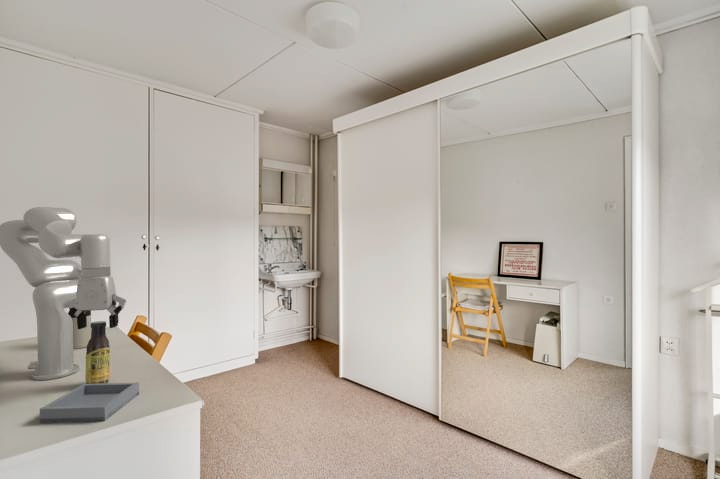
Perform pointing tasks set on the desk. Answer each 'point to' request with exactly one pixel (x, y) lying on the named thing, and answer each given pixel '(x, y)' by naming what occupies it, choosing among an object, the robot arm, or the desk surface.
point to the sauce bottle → (97, 355)
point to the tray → (89, 402)
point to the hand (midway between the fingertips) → (98, 327)
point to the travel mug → (81, 331)
